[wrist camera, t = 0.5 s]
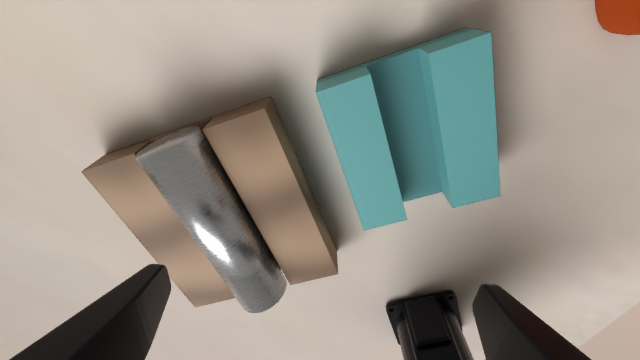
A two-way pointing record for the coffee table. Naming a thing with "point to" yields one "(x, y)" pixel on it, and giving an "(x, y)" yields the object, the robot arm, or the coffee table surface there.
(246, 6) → the coffee table surface
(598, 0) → the toy drill
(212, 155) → the axle
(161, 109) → the coffee table surface
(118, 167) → the wooden channel block
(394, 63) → the v block
